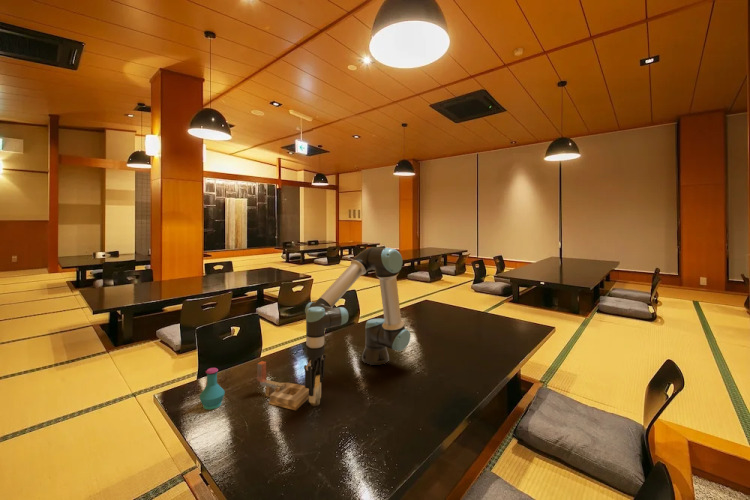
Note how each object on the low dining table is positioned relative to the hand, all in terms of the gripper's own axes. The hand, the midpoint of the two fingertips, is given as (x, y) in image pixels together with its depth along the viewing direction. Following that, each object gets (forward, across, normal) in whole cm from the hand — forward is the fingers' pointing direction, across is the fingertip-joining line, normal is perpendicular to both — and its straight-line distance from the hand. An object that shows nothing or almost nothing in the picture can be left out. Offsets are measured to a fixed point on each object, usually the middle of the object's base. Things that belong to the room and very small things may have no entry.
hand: (315, 399), depth 135 cm
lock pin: (-2, +1, -21) cm, 22 cm away
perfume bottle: (+2, +17, -38) cm, 42 cm away
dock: (+2, +1, -14) cm, 14 cm away
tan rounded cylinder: (+2, 0, 0) cm, 2 cm away
